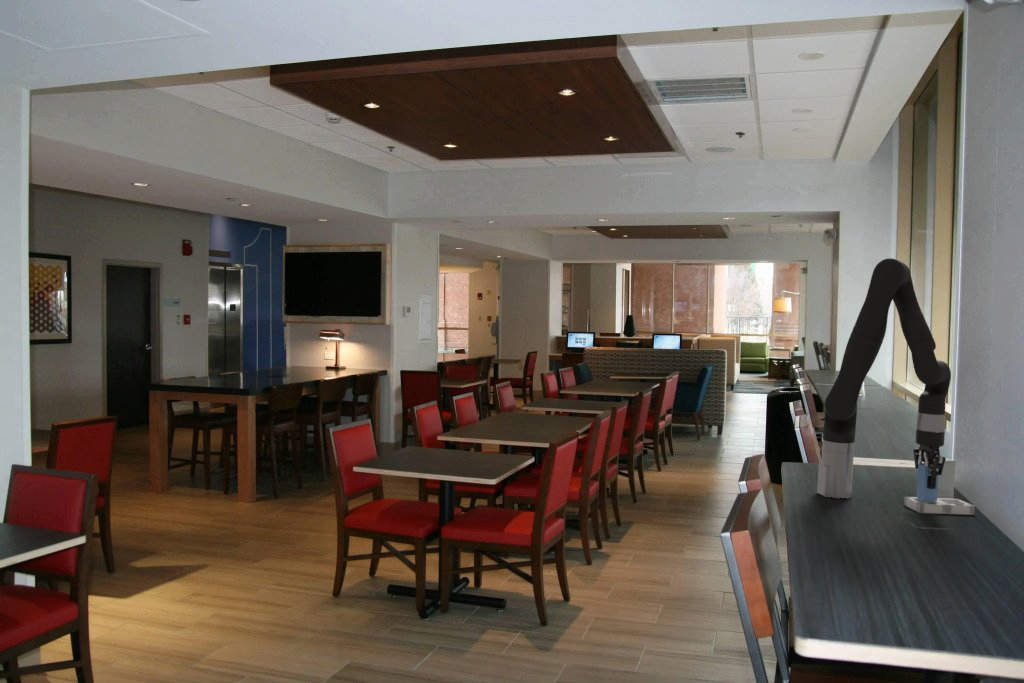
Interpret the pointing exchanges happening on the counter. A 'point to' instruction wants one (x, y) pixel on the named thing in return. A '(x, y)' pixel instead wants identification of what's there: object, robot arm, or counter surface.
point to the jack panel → (939, 506)
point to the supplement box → (946, 480)
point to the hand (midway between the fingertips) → (927, 486)
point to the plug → (925, 485)
